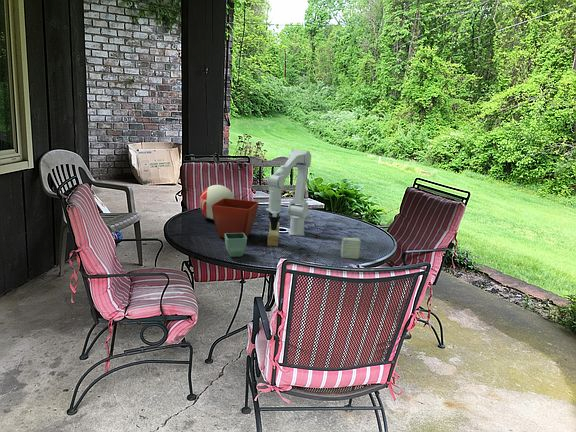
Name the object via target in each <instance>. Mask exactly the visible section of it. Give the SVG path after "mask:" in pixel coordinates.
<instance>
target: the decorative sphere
mask: <svg viewBox="0 0 576 432" xmlns="http://www.w3.org/2000/svg"><path fill="white" fill-rule="evenodd" d="M234 196H235V195H234V194H233V192H232V191H231V190H230V189H229V187H227V186H224V185H222V184H214V185H210V186H207V187H206V188H205V189H204V190H203V191H202V193H201V194H200V197H199V201H198V202H199V203H198V204H199V208H200V211H201V213H202V214H203V215H204V216H205V217H206V218H208V219H210V220H213V221H214V218H213V212H212V205H213V204H214V203H216V202H218V201H220V200H221V199H223V198H228V199H235V197H234Z"/></svg>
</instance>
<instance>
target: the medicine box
mask: <svg viewBox="0 0 576 432" xmlns="http://www.w3.org/2000/svg"><path fill="white" fill-rule="evenodd" d="M361 243H362V241H361V239H360V238H359V237H341V246H340V256H341V258H342V259H355V260H358V259H360V250H361Z"/></svg>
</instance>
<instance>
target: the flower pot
mask: <svg viewBox="0 0 576 432" xmlns="http://www.w3.org/2000/svg"><path fill="white" fill-rule="evenodd" d="M247 240H248V236H247V237H246V236H245V234H244V233H225V238H224V243H225V248H226V251H227V252H228V255H229V257H230V258H234V257H243V255H244V254H245V252H246V249H247V243H248V241H247Z"/></svg>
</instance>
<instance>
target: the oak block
mask: <svg viewBox="0 0 576 432" xmlns="http://www.w3.org/2000/svg"><path fill="white" fill-rule="evenodd" d="M280 225H281V224H280V222H279V221H278V224H277V229H276V230H271V223H270V222H269V232H268V233H269V235H270V236H280V228H281V227H280Z"/></svg>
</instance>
